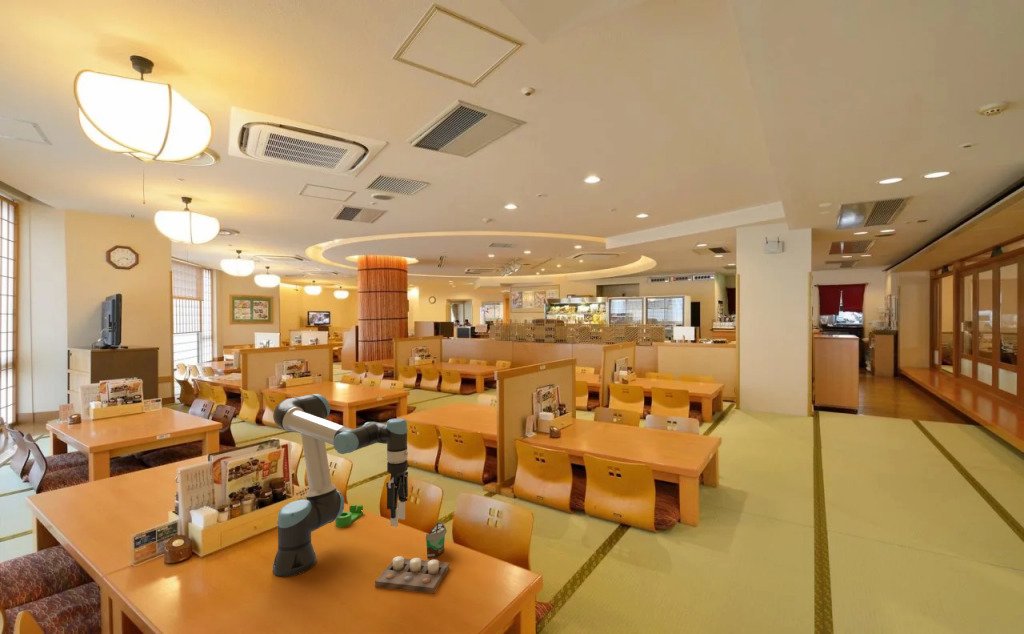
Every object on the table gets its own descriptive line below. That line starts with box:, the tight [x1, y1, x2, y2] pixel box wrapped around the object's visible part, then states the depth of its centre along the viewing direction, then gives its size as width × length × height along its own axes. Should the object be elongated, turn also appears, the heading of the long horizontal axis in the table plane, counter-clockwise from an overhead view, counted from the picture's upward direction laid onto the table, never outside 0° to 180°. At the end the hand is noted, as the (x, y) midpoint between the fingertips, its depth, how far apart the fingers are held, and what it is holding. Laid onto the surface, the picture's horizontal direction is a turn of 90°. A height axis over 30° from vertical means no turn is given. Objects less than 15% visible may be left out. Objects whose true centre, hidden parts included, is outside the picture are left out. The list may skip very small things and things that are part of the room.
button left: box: [392, 555, 404, 571], centre depth 164 cm, size 4×4×3 cm
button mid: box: [410, 557, 422, 573], centre depth 163 cm, size 4×4×3 cm
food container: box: [425, 521, 448, 559], centre depth 178 cm, size 12×6×10 cm, turn 168°
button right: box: [428, 559, 440, 575], centre depth 161 cm, size 4×4×3 cm
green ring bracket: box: [334, 503, 364, 528], centre depth 209 cm, size 15×7×5 cm, turn 167°
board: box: [374, 558, 450, 595], centre depth 161 cm, size 22×16×2 cm
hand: (397, 522), depth 164 cm, fingers open, 5 cm apart
